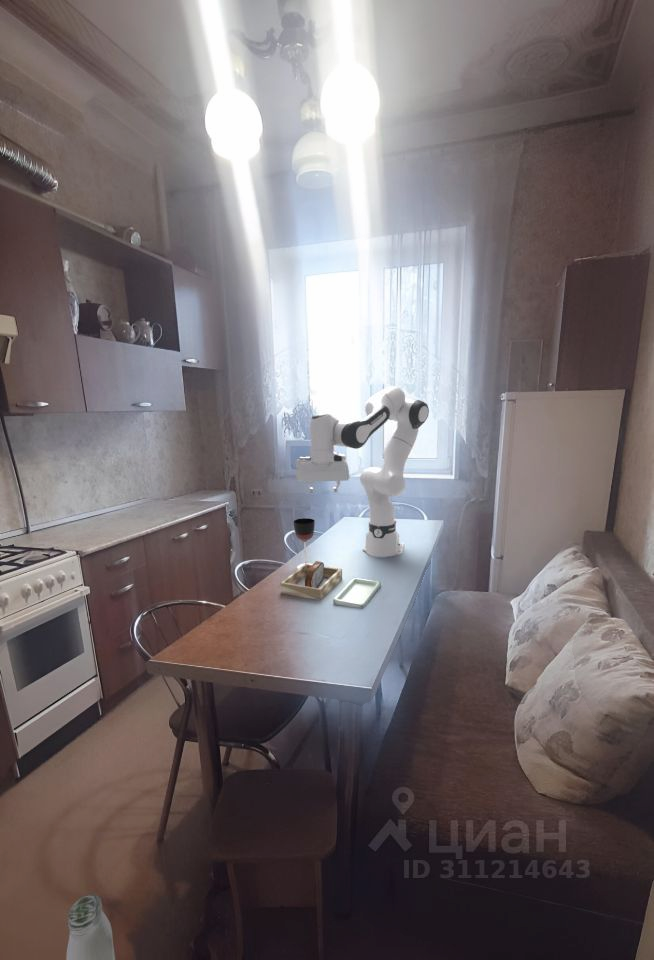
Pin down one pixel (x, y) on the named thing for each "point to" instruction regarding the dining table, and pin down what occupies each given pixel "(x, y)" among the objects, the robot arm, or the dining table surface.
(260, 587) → the dining table surface
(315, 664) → the dining table surface
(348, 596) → the sage tray
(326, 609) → the dining table surface
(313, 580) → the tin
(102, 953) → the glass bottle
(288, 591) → the birch crate
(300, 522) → the wineglass
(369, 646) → the dining table surface
